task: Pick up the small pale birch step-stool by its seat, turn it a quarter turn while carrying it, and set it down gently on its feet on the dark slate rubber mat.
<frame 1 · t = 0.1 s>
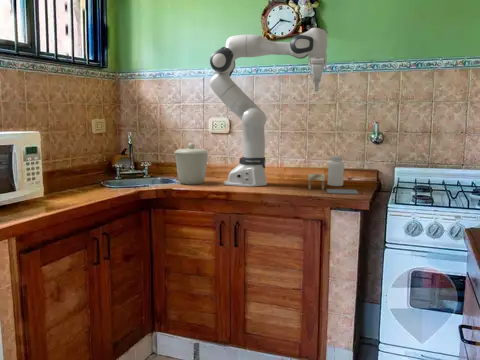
hand: (316, 90, 227), 48 cm above the countertop, tool pointing down, fingers open, 8 cm apart
mat: (341, 191, 216), on the countertop
pill bottle: (335, 185, 238), on the countertop
stool: (316, 188, 225), on the countertop
canister: (191, 183, 239), on the countertop
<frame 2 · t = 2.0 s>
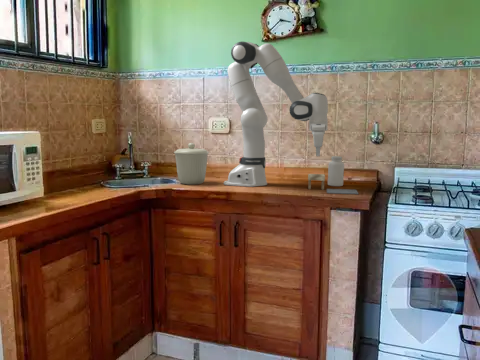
hand: (317, 155, 223), 16 cm above the countertop, tool pointing down, fingers open, 8 cm apart
nothing on the countertop moved.
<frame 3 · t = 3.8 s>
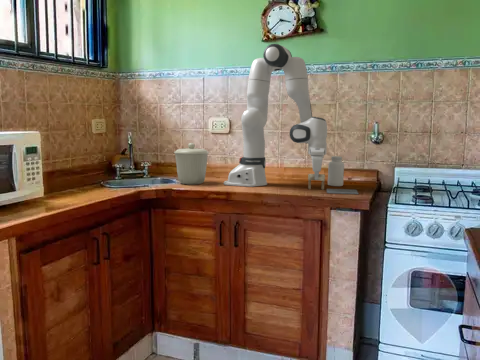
hand: (316, 178, 224), 5 cm above the countertop, tool pointing down, fingers closed on stool, 5 cm apart
stool: (316, 188, 225), on the countertop, touching gripper
everything else where it was.
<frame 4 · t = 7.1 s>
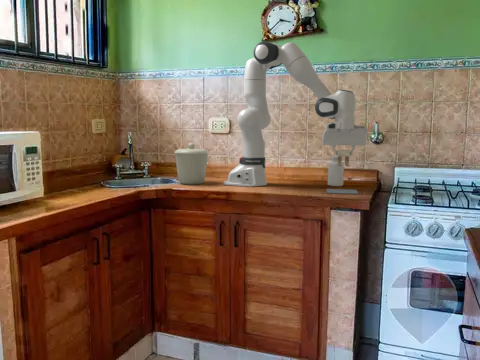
hand: (343, 155, 214), 17 cm above the countertop, tool pointing down, fingers closed on stool, 5 cm apart
stool: (343, 165, 215), point 13 cm above the countertop, touching gripper
everything else where it was.
when the fingers open (6 cm above the countertop, at t = 10.2 s): stool drops 1 cm, resting on mat.
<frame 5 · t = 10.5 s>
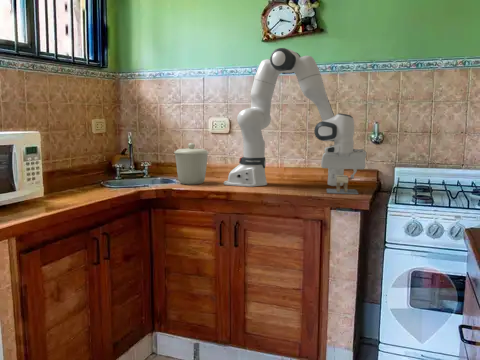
hand: (342, 178, 216), 6 cm above the countertop, tool pointing down, fingers open, 8 cm apart
stool: (341, 191, 216), resting on mat
everything else where it was.
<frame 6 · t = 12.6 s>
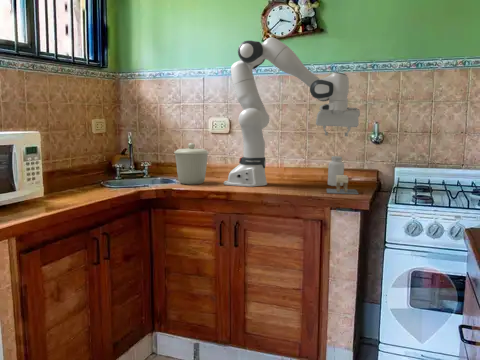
hand: (336, 135, 223), 26 cm above the countertop, tool pointing down, fingers open, 8 cm apart
nothing on the countertop moved.
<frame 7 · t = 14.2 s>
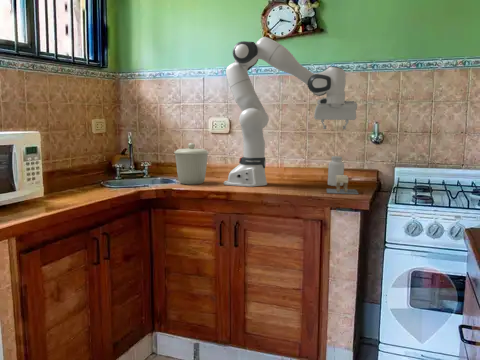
hand: (334, 129, 226), 29 cm above the countertop, tool pointing down, fingers open, 8 cm apart
nothing on the countertop moved.
at the end: stool inside the target area on the mat (0.1 cm from its centre), point 0.4 cm above the mat's base; stool tilted 0°; the gripper is holding nothing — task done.
